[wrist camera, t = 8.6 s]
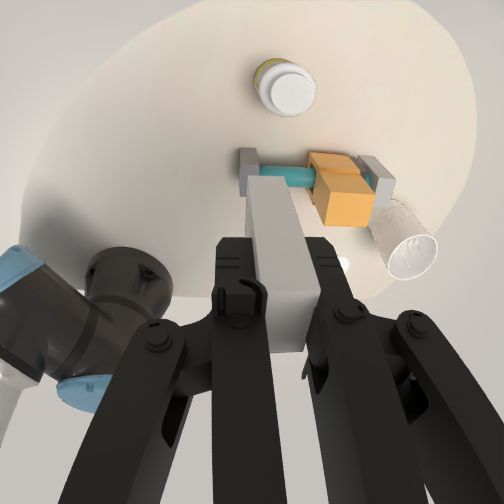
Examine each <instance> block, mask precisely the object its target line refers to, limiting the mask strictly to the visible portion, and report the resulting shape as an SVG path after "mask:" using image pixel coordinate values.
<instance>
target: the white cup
mask: <svg viewBox="0 0 504 504" xmlns="http://www.w3.org/2000/svg"><path fill="white" fill-rule="evenodd" d="M368 227H369V229H370V232H371V234H372V236H373V240H374V242H375V244H376V246H377V248H378V250H379V253H380V255H381V257H382V259H383V261H384V263H385V265H386V267H387V270H388V272H389V274H390V275H391V276H392V277H393V278H395V279H397V280H410V279H413V278H416V277H418V276H420V275H421V274H423V273H424V272H425V271H426V270H428V268H429V267H430V266H431V265H432V264H433V262H434V261H435V259H436V256H437V253H438V244H437V242H436V240H435V239H434V237H433V236H432V235H431V234H430V233H429V232H428V231H427V229H426V228H425V227H424V226H423V225H422V224H421V222H420V221H419V220H418V219H417V218H416V217H415V216H414V215H413V214H412V213H411V212H410V211H409V210H408V209H407V208H406V207H405V206H404V205H403V204H402V203H400V202H399V201H398V200H391V201H390V204H389V207H388V208H376V207H374V208H373V209H372V211H371V215H370V219H369V222H368Z"/></svg>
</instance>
